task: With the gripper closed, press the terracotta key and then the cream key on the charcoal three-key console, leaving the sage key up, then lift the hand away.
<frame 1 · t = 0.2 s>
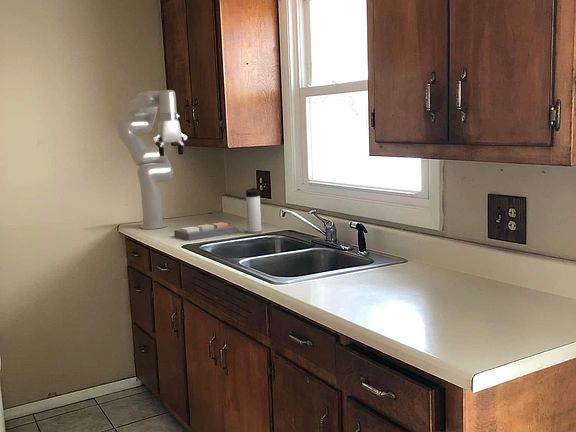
hand: (171, 155, 300), 36 cm above the worktop, tool pointing down, fingers open, 9 cm apart
sage key: (205, 228, 296), point 3 cm above the worktop, slide at 0.0 cm
cream key: (190, 230, 292), point 3 cm above the worktop, slide at 0.0 cm
terracotta key: (219, 226, 301), point 3 cm above the worktop, slide at 0.0 cm
travel mug: (254, 232, 298), on the worktop
keypad console: (205, 234, 297), on the worktop
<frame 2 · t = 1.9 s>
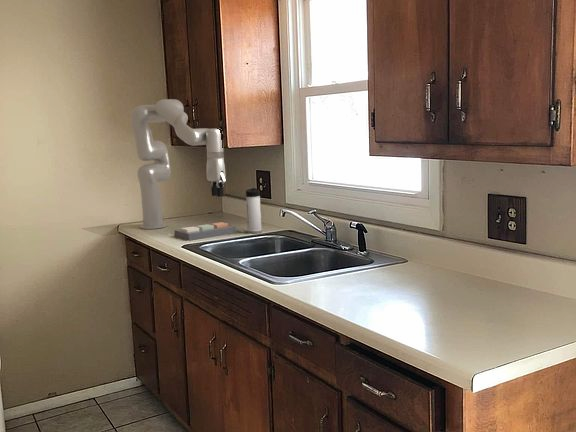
hand: (217, 195, 298), 17 cm above the worktop, tool pointing down, fingers open, 3 cm apart
nothing on the worktop moved.
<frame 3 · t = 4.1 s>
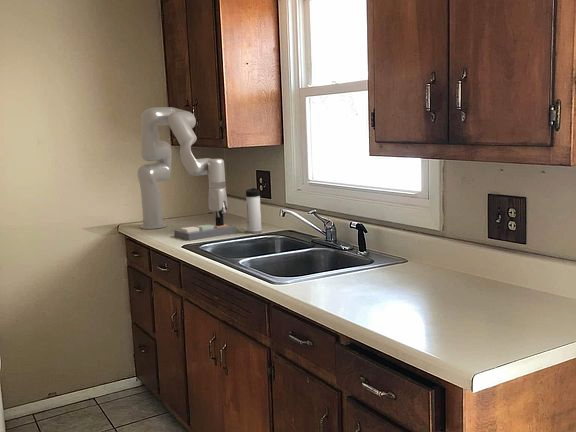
hand: (219, 225, 300), 3 cm above the worktop, tool pointing down, fingers closed
terracotta key: (219, 227, 301), point 2 cm above the worktop, slide at 0.8 cm, touching gripper, keypad console
everything else where it was.
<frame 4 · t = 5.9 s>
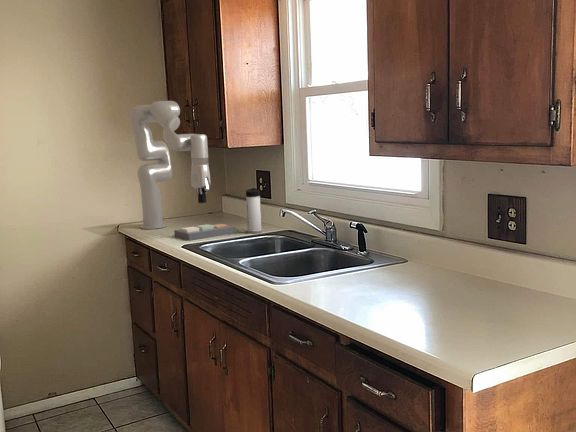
hand: (202, 202, 294), 15 cm above the worktop, tool pointing down, fingers closed
terracotta key: (219, 227, 301), point 2 cm above the worktop, slide at 0.8 cm, touching keypad console
everything else where it was.
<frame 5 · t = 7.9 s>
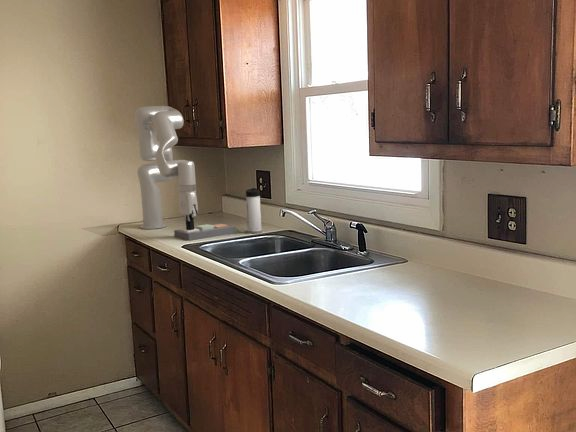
hand: (190, 229, 291), 4 cm above the worktop, tool pointing down, fingers closed
cream key: (190, 232, 292), point 2 cm above the worktop, slide at 0.7 cm, touching gripper
everything else where it was.
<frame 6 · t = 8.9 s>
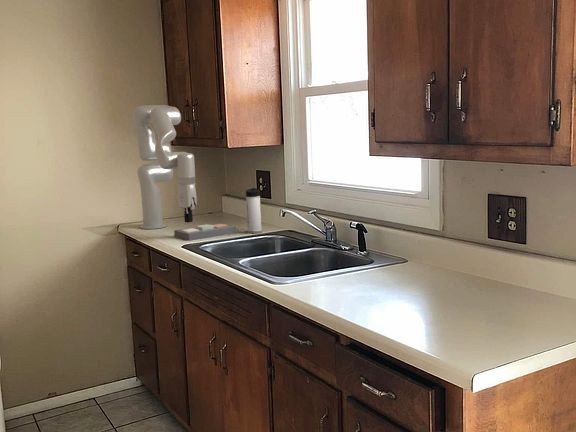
hand: (188, 221, 292), 7 cm above the worktop, tool pointing down, fingers closed
cream key: (190, 232, 292), point 2 cm above the worktop, slide at 0.8 cm, touching keypad console
everything else where it was.
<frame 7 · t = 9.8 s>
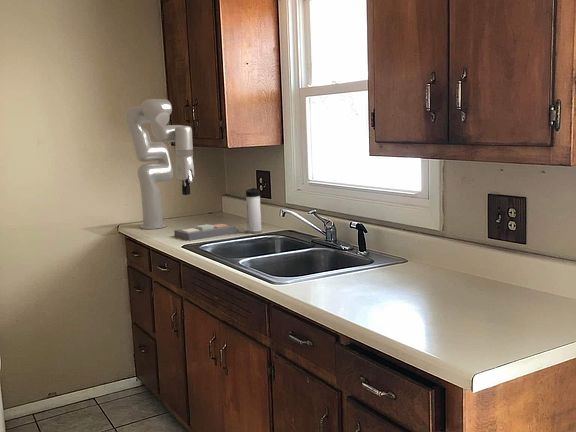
hand: (186, 194, 294), 19 cm above the worktop, tool pointing down, fingers closed
nothing on the worktop moved.
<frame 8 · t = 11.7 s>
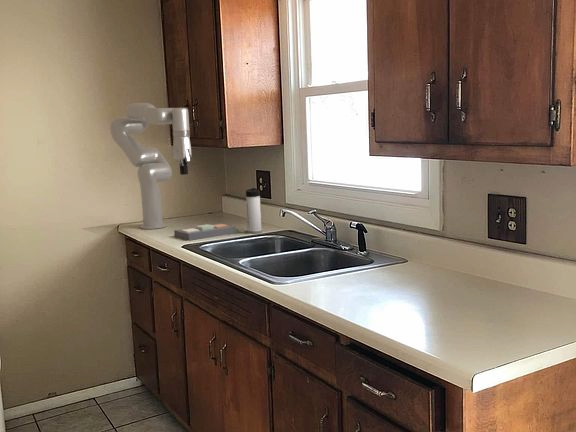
hand: (184, 174, 304), 27 cm above the worktop, tool pointing down, fingers closed
nothing on the worktop moved.
at the end: terracotta key slide at 0.8 cm; cream key slide at 0.8 cm; sage key slide at 0.0 cm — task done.
